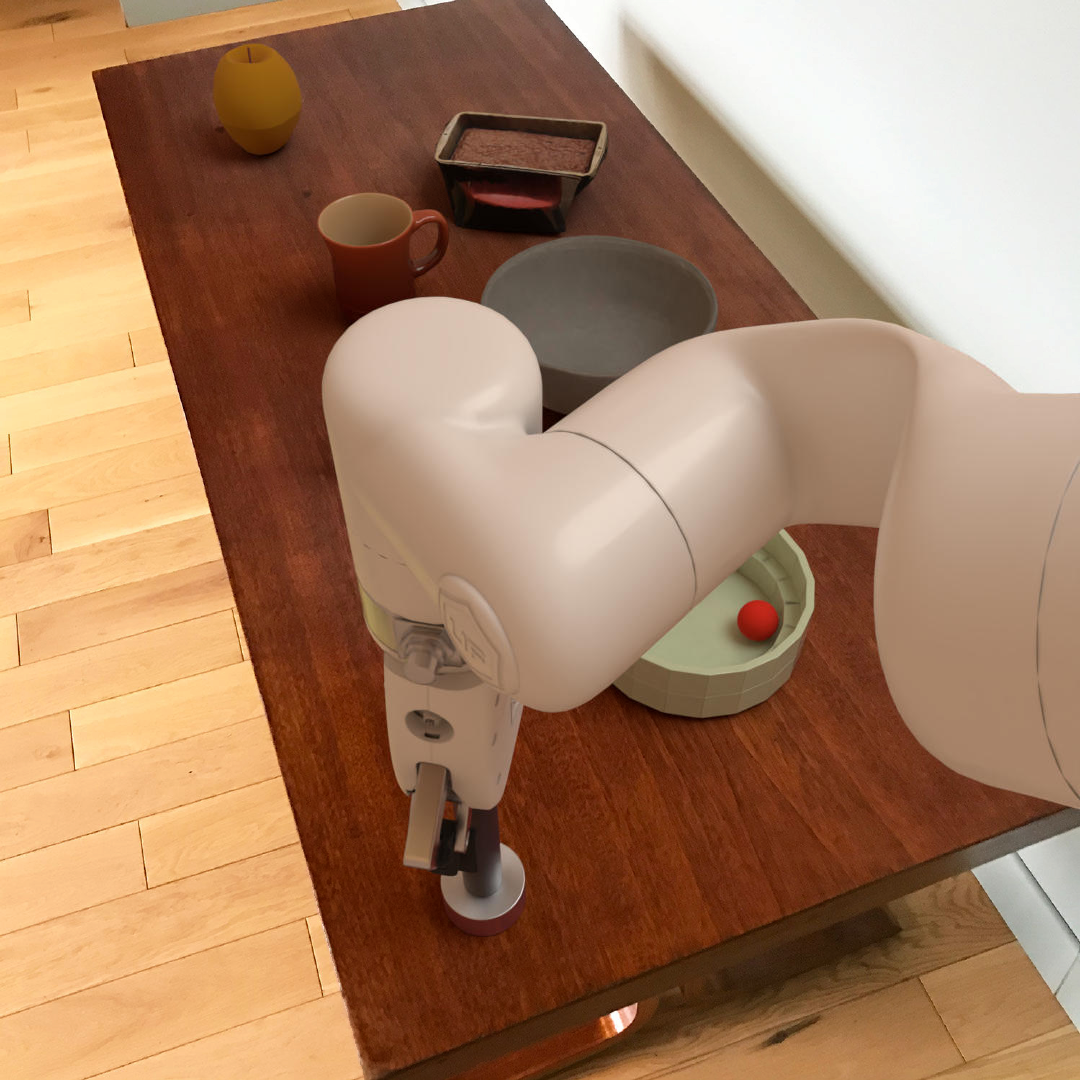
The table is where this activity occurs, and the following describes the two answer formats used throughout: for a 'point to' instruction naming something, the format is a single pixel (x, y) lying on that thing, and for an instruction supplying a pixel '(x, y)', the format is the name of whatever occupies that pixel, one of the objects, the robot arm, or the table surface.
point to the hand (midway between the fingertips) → (468, 777)
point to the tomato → (757, 620)
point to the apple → (257, 98)
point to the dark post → (486, 882)
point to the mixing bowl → (729, 641)
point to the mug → (376, 250)
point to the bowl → (599, 309)
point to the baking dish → (517, 168)
